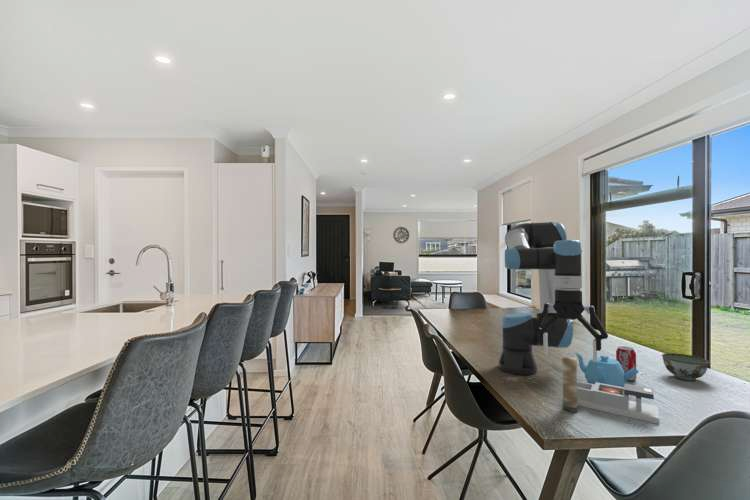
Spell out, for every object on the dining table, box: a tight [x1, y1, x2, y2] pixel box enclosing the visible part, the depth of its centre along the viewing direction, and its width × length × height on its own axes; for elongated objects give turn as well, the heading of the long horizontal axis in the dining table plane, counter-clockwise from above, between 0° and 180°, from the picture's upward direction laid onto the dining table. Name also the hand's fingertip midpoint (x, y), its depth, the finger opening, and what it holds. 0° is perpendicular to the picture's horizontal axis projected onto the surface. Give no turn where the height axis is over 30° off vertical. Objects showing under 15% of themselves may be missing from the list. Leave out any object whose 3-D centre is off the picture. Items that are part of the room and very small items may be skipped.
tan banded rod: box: [561, 356, 579, 414], centre depth 107 cm, size 4×4×16 cm
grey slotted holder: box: [577, 380, 660, 424], centre depth 109 cm, size 23×10×6 cm, turn 52°
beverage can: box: [615, 345, 637, 382], centre depth 133 cm, size 6×6×12 cm
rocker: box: [623, 383, 655, 400], centre depth 105 cm, size 7×6×2 cm
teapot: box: [573, 352, 640, 387], centre depth 125 cm, size 15×14×11 cm
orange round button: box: [602, 388, 620, 395], centre depth 109 cm, size 5×5×1 cm
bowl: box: [661, 352, 710, 382], centre depth 133 cm, size 14×13×8 cm
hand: (569, 357), depth 107 cm, fingers open, 13 cm apart
